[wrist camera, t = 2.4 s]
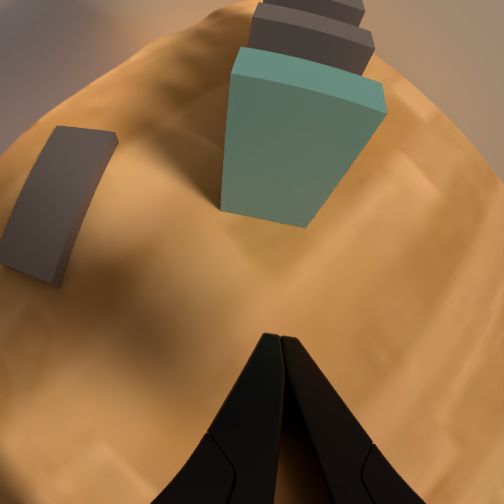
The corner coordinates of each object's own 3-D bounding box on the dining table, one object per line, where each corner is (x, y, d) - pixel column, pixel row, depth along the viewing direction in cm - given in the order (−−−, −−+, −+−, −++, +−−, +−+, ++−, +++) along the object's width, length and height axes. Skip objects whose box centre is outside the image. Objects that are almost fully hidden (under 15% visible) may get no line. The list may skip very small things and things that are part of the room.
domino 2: (314, 126, 20) (365, 11, 11) (244, 110, 20) (266, -15, 11) (315, 110, 21) (362, 0, 11) (248, 96, 21) (269, -24, 11)
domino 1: (63, 289, 16) (51, 283, 14) (7, 266, 15) (-6, 260, 14) (120, 146, 19) (114, 132, 17) (64, 138, 19) (56, 125, 17)
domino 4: (305, 228, 18) (387, 114, 8) (220, 211, 18) (230, 73, 8) (308, 204, 18) (381, 83, 9) (225, 186, 18) (240, 46, 9)
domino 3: (311, 171, 19) (375, 49, 10) (233, 154, 19) (252, 16, 9) (312, 151, 20) (370, 31, 10) (238, 135, 19) (258, 2, 10)
